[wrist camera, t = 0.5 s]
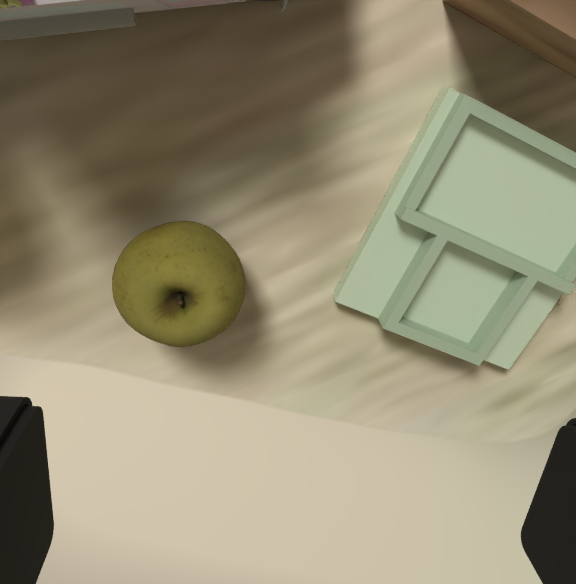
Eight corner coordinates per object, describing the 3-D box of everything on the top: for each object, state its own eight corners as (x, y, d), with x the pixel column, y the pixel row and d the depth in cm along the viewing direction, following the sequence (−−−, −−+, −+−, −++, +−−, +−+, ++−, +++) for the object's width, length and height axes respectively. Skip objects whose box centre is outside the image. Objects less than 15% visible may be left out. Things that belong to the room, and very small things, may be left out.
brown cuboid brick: (478, -73, 30) (541, -104, 24) (614, 12, 33) (704, 4, 26) (442, 1, 32) (492, -11, 25) (575, 77, 34) (651, 84, 28)
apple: (251, 302, 39) (253, 353, 32) (139, 316, 39) (118, 370, 32) (236, 199, 36) (235, 233, 29) (114, 213, 35) (86, 251, 29)
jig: (443, 86, 34) (459, 89, 31) (626, 182, 37) (653, 192, 35) (332, 294, 39) (338, 311, 37) (501, 361, 43) (517, 380, 40)
